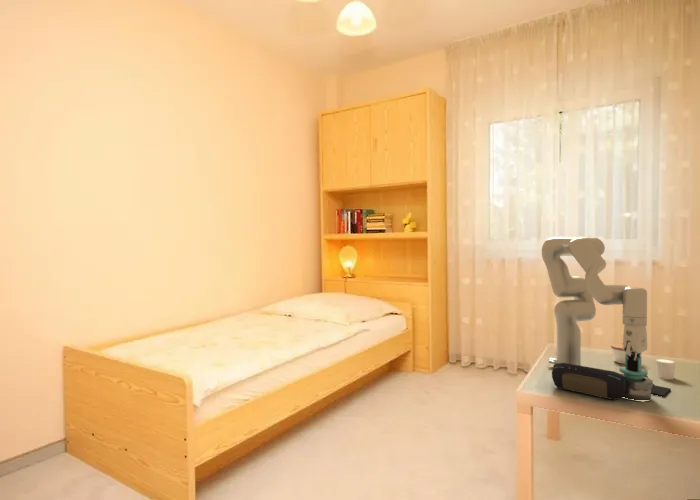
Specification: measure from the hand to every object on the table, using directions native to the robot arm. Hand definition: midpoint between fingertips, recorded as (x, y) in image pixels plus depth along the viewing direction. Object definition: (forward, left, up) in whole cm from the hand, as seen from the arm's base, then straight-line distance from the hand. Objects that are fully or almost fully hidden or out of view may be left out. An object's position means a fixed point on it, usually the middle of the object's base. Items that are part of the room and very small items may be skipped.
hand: (634, 369), depth 160 cm
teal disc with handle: (0, 0, -3) cm, 3 cm away
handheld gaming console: (+2, +13, -11) cm, 17 cm away
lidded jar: (-21, +47, -10) cm, 53 cm away
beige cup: (-1, +36, -10) cm, 37 cm away
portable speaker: (-12, -10, -10) cm, 19 cm away
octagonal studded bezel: (0, 0, -10) cm, 10 cm away
